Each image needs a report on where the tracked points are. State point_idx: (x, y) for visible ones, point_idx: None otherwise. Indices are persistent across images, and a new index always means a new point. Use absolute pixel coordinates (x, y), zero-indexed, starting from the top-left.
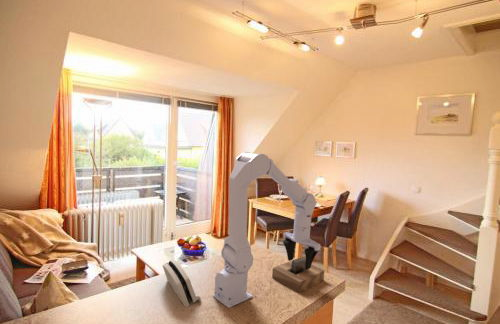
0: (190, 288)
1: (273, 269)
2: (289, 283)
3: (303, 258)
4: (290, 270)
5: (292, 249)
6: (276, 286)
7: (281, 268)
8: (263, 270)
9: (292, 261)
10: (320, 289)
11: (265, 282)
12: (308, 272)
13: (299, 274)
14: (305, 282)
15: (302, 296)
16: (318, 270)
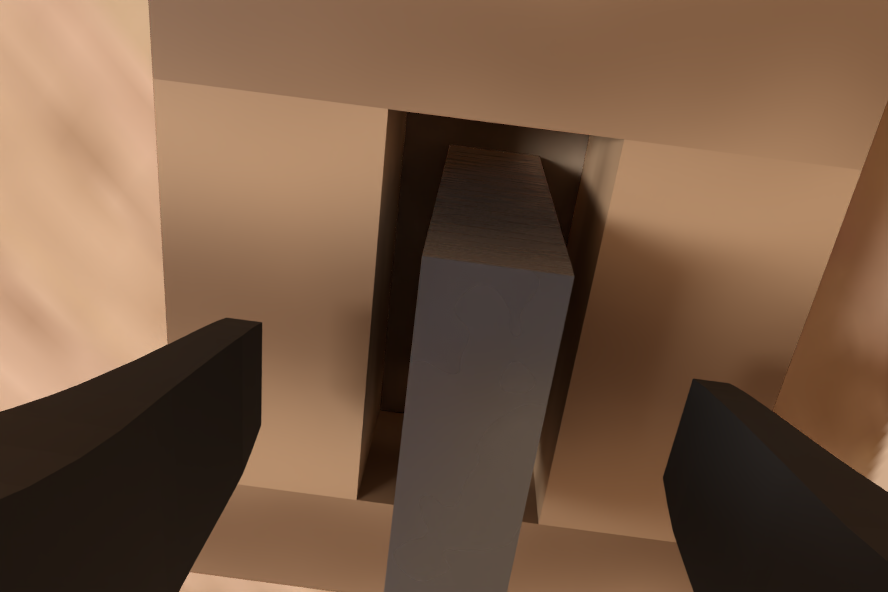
0: None
1: (202, 562)
2: None
3: (501, 330)
4: (368, 399)
5: (144, 502)
6: None
7: (266, 504)
8: (24, 403)
9: (402, 589)
10: (853, 305)
11: (261, 588)
12: (664, 326)
13: (574, 481)
14: None
15: None
16: (804, 104)
